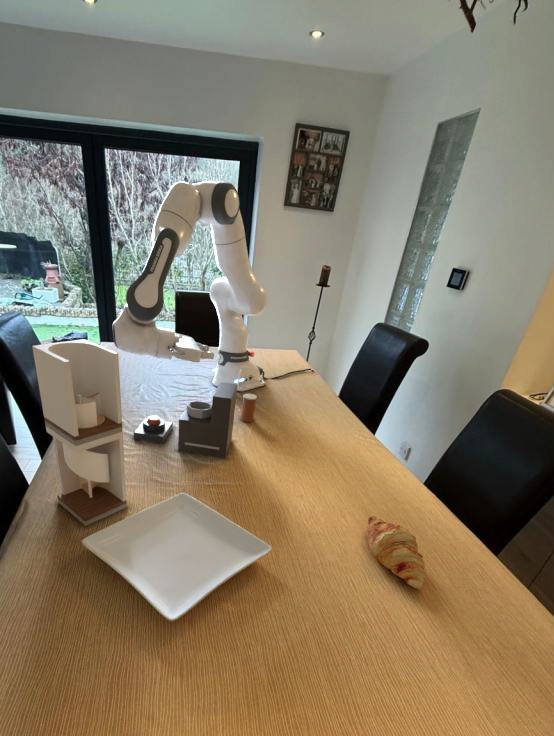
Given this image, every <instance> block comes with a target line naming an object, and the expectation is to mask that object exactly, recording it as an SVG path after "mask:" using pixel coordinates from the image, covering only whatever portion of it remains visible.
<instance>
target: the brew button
mask: <svg viewBox="0 0 554 736" xmlns="http://www.w3.org/2000/svg"><path fill="white" fill-rule="evenodd" d="M147 418H148V424H151V425H157V424H160V419H161V417H160V416H159V415H154V414H151V415H149V416H147Z"/></svg>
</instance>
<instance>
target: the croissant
mask: <svg viewBox="0 0 554 736" xmlns="http://www.w3.org/2000/svg"><path fill="white" fill-rule="evenodd" d="M367 525H368V526H367V529H366V536H367V545H368V546H369V547H368V548H369V549H370V552H371V554H372V555H373V556H374V557H375V559H376V560H377V561H378V562H379V564H381V565H382V566H384V567H385V568H387V569H389V570H390V571H391V573H392V574H394V575H395V576H398V577H399V578H400V579H403V580H404V581H405V583H406V584H407V585H408V586H410V587H412V588H414V589H418V590H421V589H422V588H423V587H424V584H425V580H426V572H425V571H424V570H425V562H424V561H425V560H424V556H423V555H422V553H420V552H419V545H418V542H417V539H416V536H414V535H413V534H412V532H411V531H409V530H408V529H407V528H405V527H404V526H402V525H400V524H399V525H395V524H394V523H392V522H386V521H385V520H384V519H381V518H377V516H375V515H371V516H369V518H368V520H367Z"/></svg>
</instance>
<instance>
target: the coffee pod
mask: <svg viewBox="0 0 554 736" xmlns="http://www.w3.org/2000/svg"><path fill="white" fill-rule="evenodd" d="M242 397H243V399H242V409H241V415H240V416H241V417H240V420H241V421H242V422H245V423H252V422H254V418H255V417H254V416H255V409H256V403H257V398H258V396H257V395H256V394H253V393H245V394H243V395H242Z"/></svg>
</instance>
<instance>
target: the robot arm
mask: <svg viewBox="0 0 554 736" xmlns="http://www.w3.org/2000/svg"><path fill="white" fill-rule="evenodd" d="M240 201H241V200H240V195H239V192H238V189H237V188H236V187H235V185H234V184H233V183H232V182H228V181H223V180H221V181H215V180H203V181H201V182H200V181H199V182H195V183H189V182H186V181H177V182H175V183H173V185H171V187H170V189H169V190H168V192H167V194H166V195H165V197H164V199H163V201H162V203H161V205H160V207H159V209H158V213H157V215H156V217H155V221H154V224H153V228H152V233H151V242H152V247H151V250H150V253H149V255H148V258H147V260H146V262H145V265H144V268H143V270H142V272H141V274H140V275H139V276H138V277H137V279H135V280H134V281H133V282H132V283H131V284H130V285H129V287H128V289H127V291H126V293H125V302H126V303H125V305H124V307H123V309H122V311H121V312H120V315H119V316H118V317H117V318H116V319H115V320H114V321H113V323H112V326H111V327H112V328H111V329H112V338H113V339H112V340H113V344H114V346H115V347H116V348H117V349H118V350H119V351H121V352H124V353H128V354H132V355H137V356H150V357H152V358H155V359H160V360H167V361H171V360H172V358H176V359H179V360H182V361H186V362H191V363H200V362H201V359H202V360H206V359H209V360H214V358H215V354H214V352H213V351H210V347H209V346H208V345H206V344H202V343H200V342H197V341H195V339H194V338H193V337H192V336H189V335H185V334H182V333H178V332H176V331H175V330H174V329H170V328H164V327H159V326H157V325H156V321H157V320H158V318H159V316H160V314H161V312H162V311H163V308H164V304H165V303H164V301H165V298H164V297H165V295H164V286H165V283H166V280H167V278H168V274H169V273H170V271H171V267H172V265H173V262H174V261H175V259H176V258H179V257H181V256H182V255H183V254H184V253H185V250H186V249H187V247H188V246H189V243H190V241H191V240H192V237H193V234H194V231H195V228H196V226H205V227H207V226H210V228H211V231H210V232H211V239H212V243H213V249H214V255H215V261H216V266H217V268H218V269H219V271H220V272H221V273H222V274H223V277H217V278H216V279H214V280H213V281H212V283H211V285H210V288H209V298H210V300H211V302H212V303H213V305H214V307H215V309H216V314H217V316H218V317H217V318H218V323H219V343H218V344H219V345H218V348H217V354H216V359H217V360H216V361H217V363H216V368H212V370H211V371H212V372H215V373H214V377H213V379H212V384H213V385H214V386H215V387H217V388H218V386H219V384H220V382H223V383H230V384H237V392H246V391H250V390H253V389H256V388H259V387H262V386H263V387H264V386H265V384H266V383H265V381H264V380H268V378H267V377H265V371H264V368H262V367H260V366H259V365H256V364H255V363H254V362H253V361H252V360H251V359H250V358H253V357H254V356H255V352H254V351H252V350H248V343H249V342H248V341H249V334H250V333H249V328H248V325H246V323H245V321H244V318H243V316H248V317H249V316H253V317H254V316H260V315H262V313H263V312H265V310H266V307H267V305H268V293H267V290H266V289H265V288H264V287H263V286H262V284H261V283H260V282H259V280H258V279H257V276H256V274H255V272H254V270H253V268H252V265H251V262H250V259H249V258H250V257H249V253H248V246H247V240H246V232H245V225H244V221H243V217H242V214H241V210H240V207H241V202H240ZM311 369H312V368H305V369H300V370H293V371H288V372H286V373H284V374H282V375H277V376H273V377H270V378H269V380H276V379H279V378H284V377H286V376H288V375H292V374H296V373H303V372H307V371H311V372H312V373H314V372H315V370H314V369H313V370H311ZM261 376H262V378H261Z"/></svg>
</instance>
